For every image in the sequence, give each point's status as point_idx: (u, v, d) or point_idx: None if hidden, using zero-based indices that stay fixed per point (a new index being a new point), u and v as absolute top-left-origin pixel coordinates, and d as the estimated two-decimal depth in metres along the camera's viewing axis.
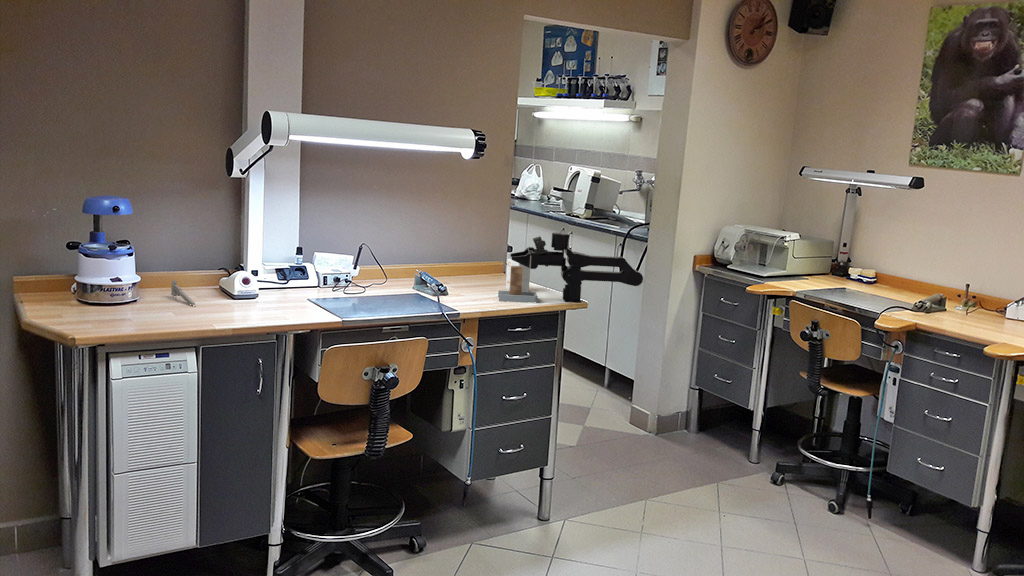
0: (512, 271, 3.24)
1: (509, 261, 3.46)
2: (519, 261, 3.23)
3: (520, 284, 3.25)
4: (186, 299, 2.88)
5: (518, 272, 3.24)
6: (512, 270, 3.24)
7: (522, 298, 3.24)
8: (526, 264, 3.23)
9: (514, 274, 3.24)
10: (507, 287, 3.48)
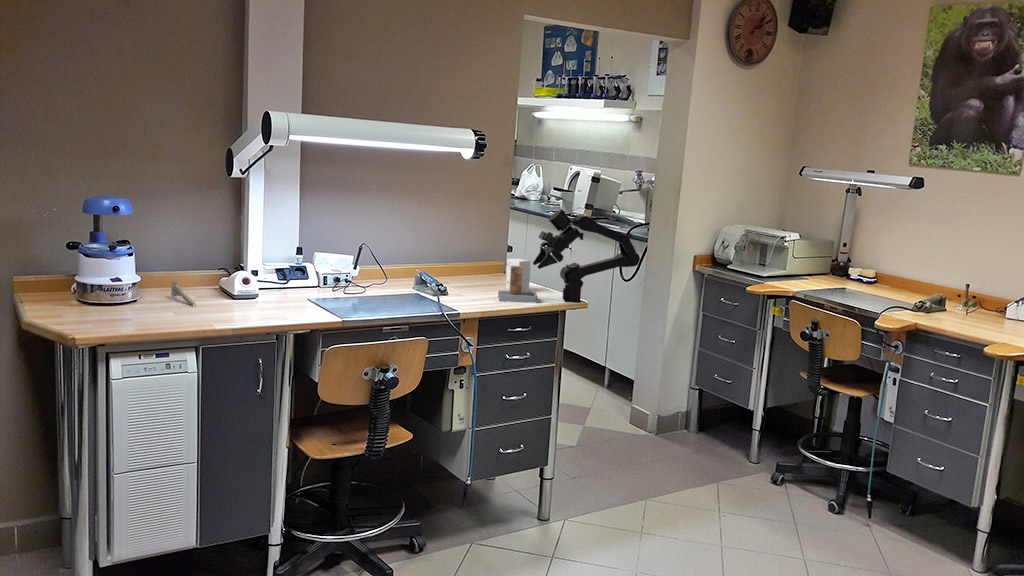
0: (512, 271, 3.24)
1: (509, 261, 3.46)
2: (546, 264, 3.22)
3: (520, 284, 3.25)
4: (186, 299, 2.88)
5: (518, 272, 3.24)
6: (512, 270, 3.24)
7: (522, 298, 3.24)
8: (553, 262, 3.22)
9: (514, 274, 3.24)
10: (507, 287, 3.48)
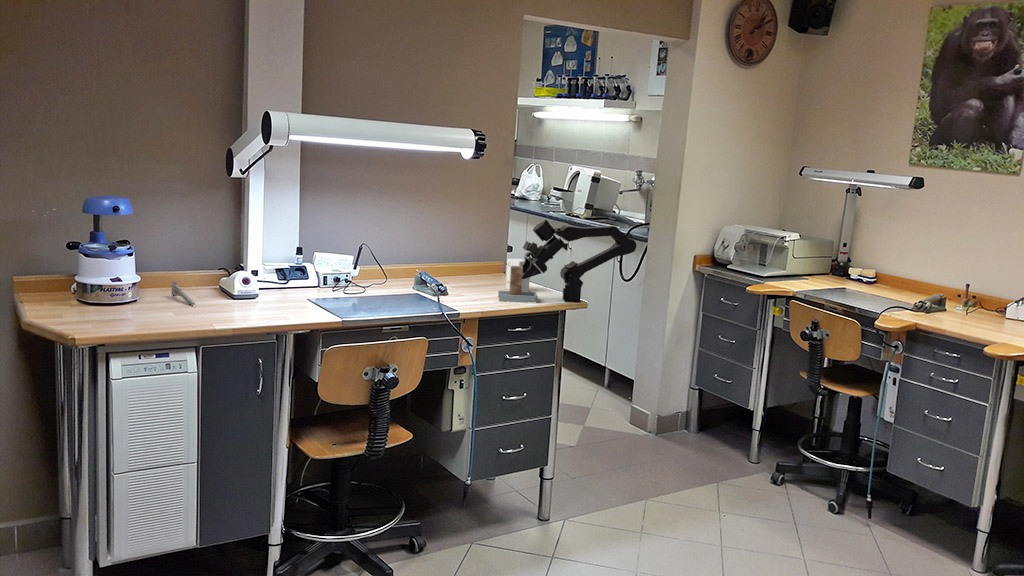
0: (512, 271, 3.24)
1: (509, 261, 3.46)
2: (530, 275, 3.22)
3: (520, 284, 3.25)
4: (186, 299, 2.88)
5: (518, 272, 3.24)
6: (512, 270, 3.24)
7: (522, 298, 3.24)
8: (537, 272, 3.21)
9: (514, 274, 3.24)
10: (507, 287, 3.48)
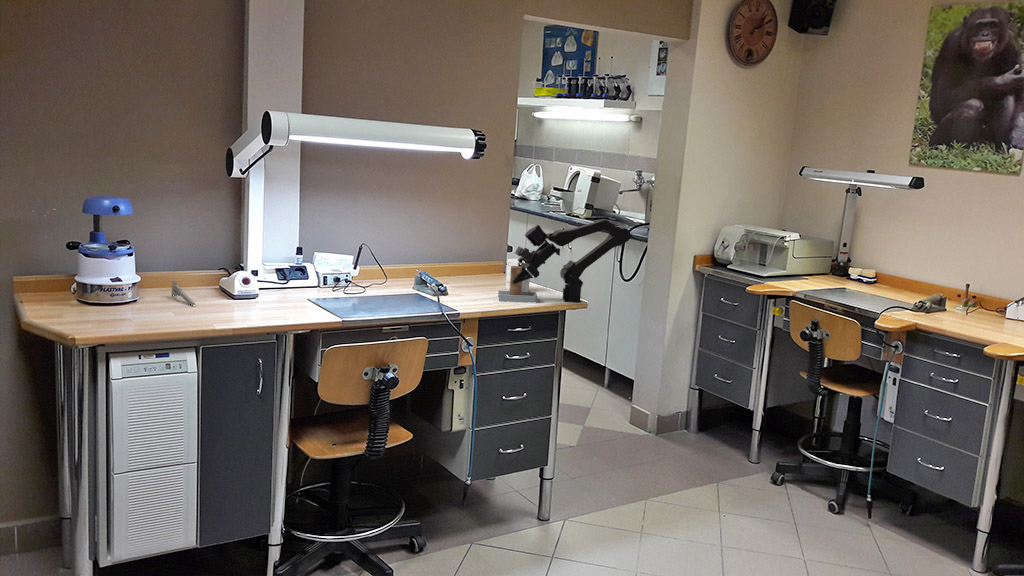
0: (512, 271, 3.24)
1: (509, 261, 3.46)
2: (521, 279, 3.24)
3: (520, 284, 3.25)
4: (186, 299, 2.88)
5: (518, 272, 3.24)
6: (512, 270, 3.24)
7: (522, 298, 3.24)
8: (528, 277, 3.23)
9: (514, 274, 3.24)
10: (507, 287, 3.48)
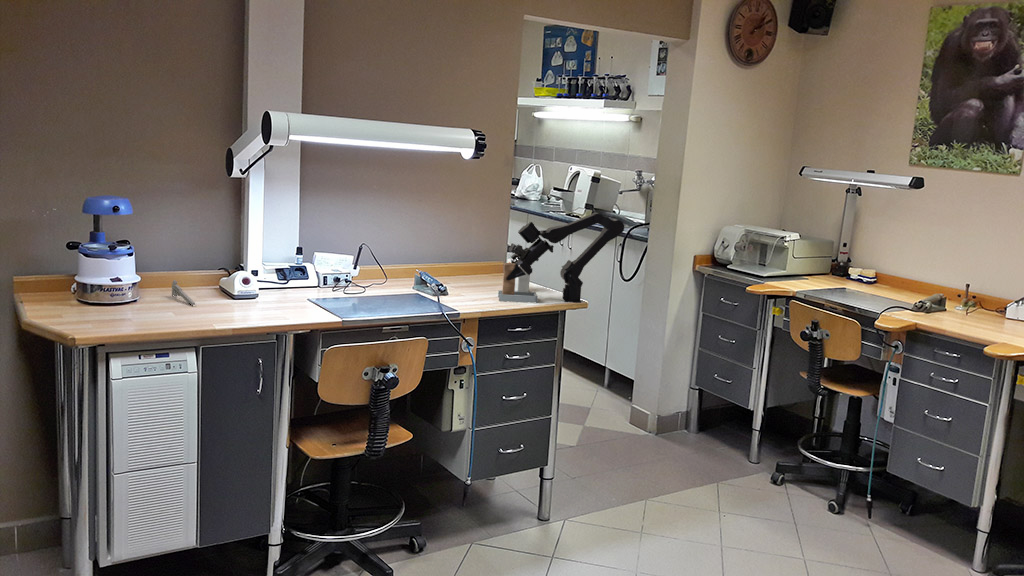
0: (505, 268, 3.24)
1: (509, 261, 3.46)
2: (514, 276, 3.23)
3: (513, 281, 3.25)
4: (186, 299, 2.88)
5: (511, 269, 3.24)
6: (505, 267, 3.24)
7: (522, 298, 3.24)
8: (521, 273, 3.23)
9: (507, 271, 3.24)
10: None
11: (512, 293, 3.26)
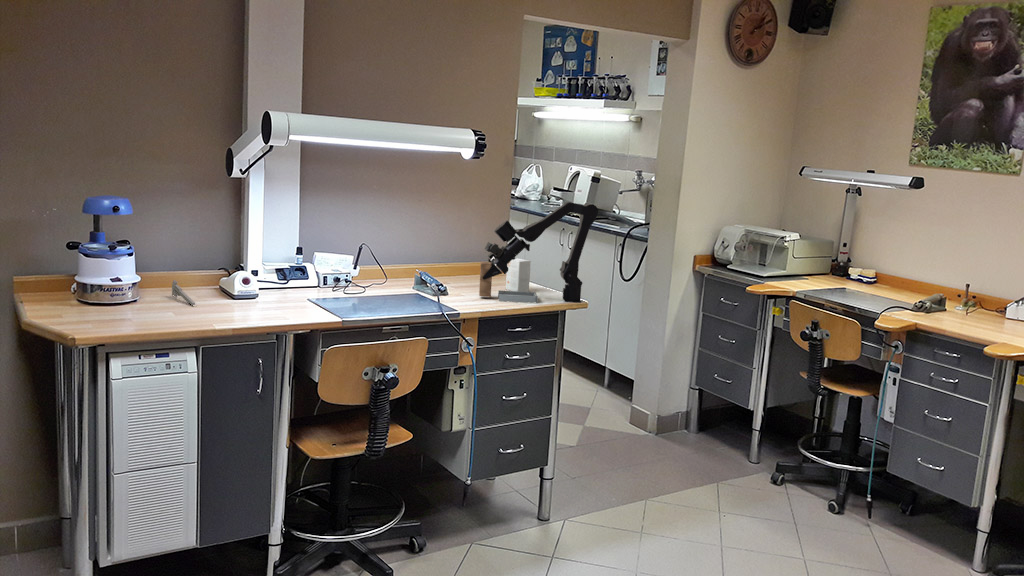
0: (481, 267, 3.23)
1: None
2: (490, 275, 3.23)
3: (490, 280, 3.24)
4: (186, 299, 2.88)
5: (488, 268, 3.23)
6: (481, 266, 3.23)
7: (522, 298, 3.24)
8: (497, 272, 3.22)
9: (484, 270, 3.24)
10: (507, 287, 3.48)
11: (489, 292, 3.25)
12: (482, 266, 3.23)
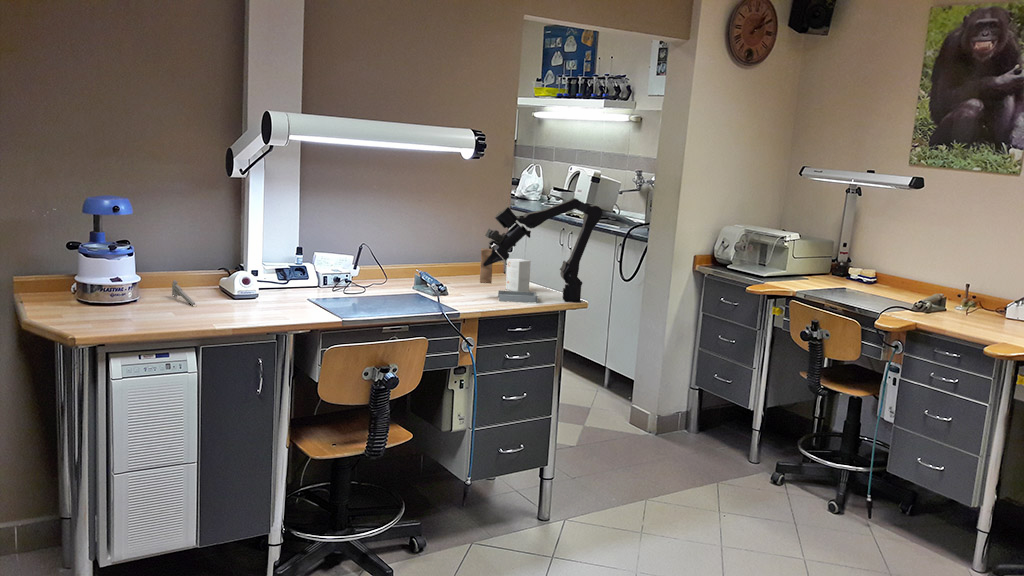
0: (482, 253, 3.22)
1: (509, 261, 3.46)
2: (491, 262, 3.22)
3: (490, 266, 3.23)
4: (187, 299, 2.88)
5: (488, 255, 3.23)
6: (482, 253, 3.22)
7: (522, 298, 3.24)
8: (498, 259, 3.21)
9: (484, 256, 3.23)
10: (507, 287, 3.48)
11: (489, 279, 3.24)
12: (483, 253, 3.22)
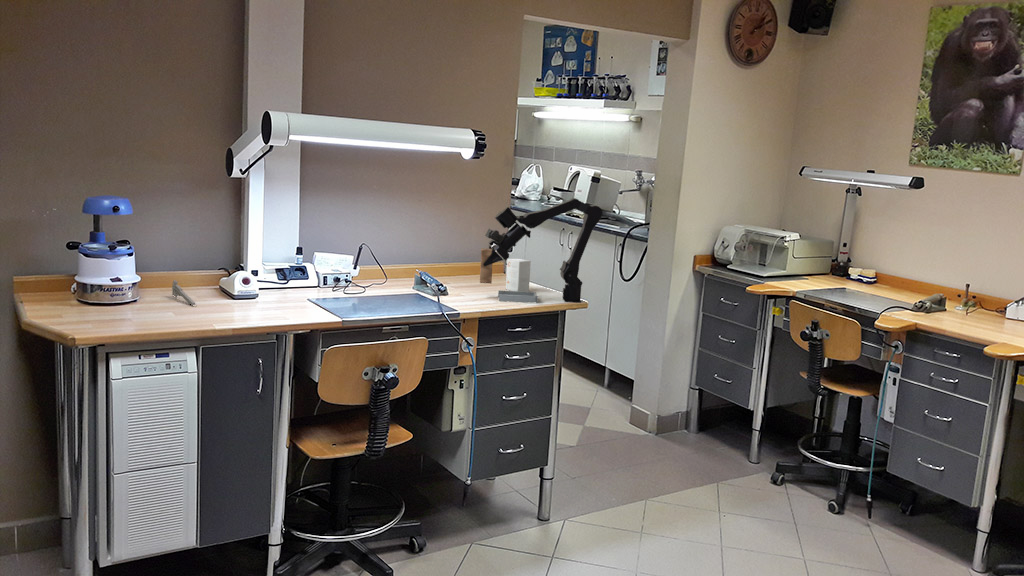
0: (482, 253, 3.22)
1: (509, 261, 3.46)
2: (491, 262, 3.22)
3: (490, 266, 3.23)
4: (187, 299, 2.88)
5: (488, 255, 3.23)
6: (482, 253, 3.22)
7: (522, 298, 3.24)
8: (498, 259, 3.21)
9: (484, 256, 3.23)
10: (507, 287, 3.48)
11: (489, 279, 3.24)
12: (483, 253, 3.22)
